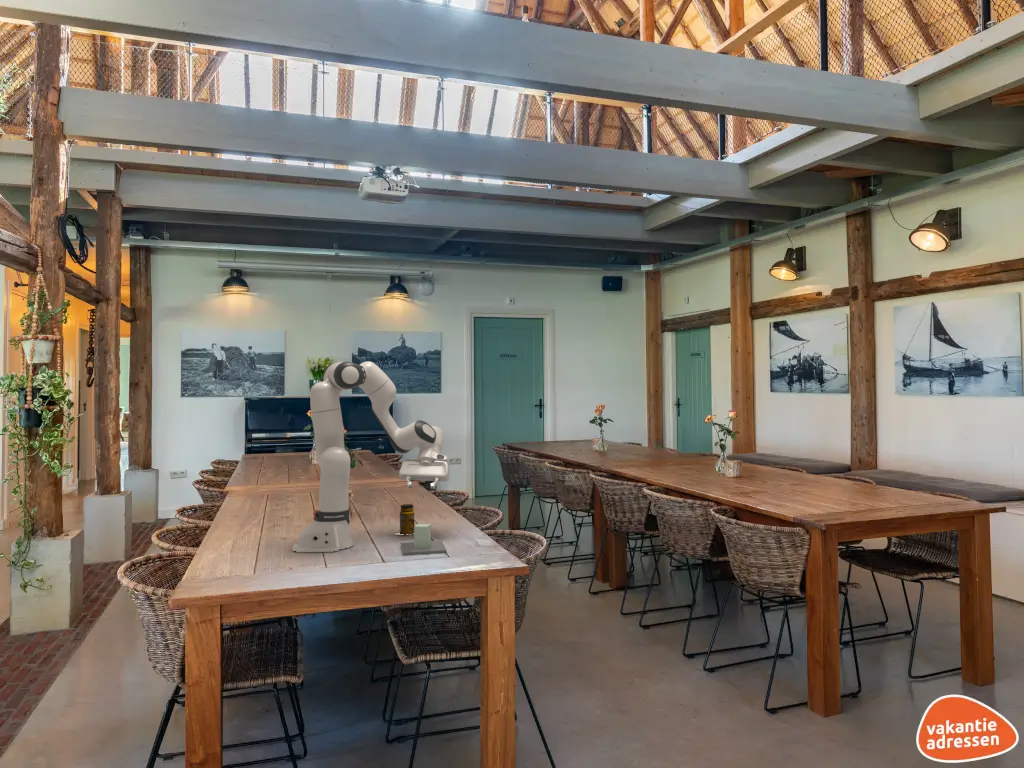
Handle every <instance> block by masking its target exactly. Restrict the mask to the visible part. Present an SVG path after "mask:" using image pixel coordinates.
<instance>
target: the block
mask: <svg viewBox="0 0 1024 768" xmlns="http://www.w3.org/2000/svg"><path fill="white" fill-rule="evenodd" d="M414 526H415V527H414V535H413V536H414V538H413V540H414V541H413V542H415V548H428V547H429V546H431V541H432V526H431V523H417V524H415V525H414Z"/></svg>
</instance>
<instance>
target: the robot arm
mask: <svg viewBox="0 0 1024 768" xmlns="http://www.w3.org/2000/svg"><path fill="white" fill-rule="evenodd" d="M356 387H359V388H360V389H361V390H362V391H363V392H364V394H366V396H367V397H368V398H369V400H370V401H371V405H370V406H371V411H372V413H373V415H374V418H376V420H377V422H378V423H379V425H380V426H381V428H382V430H383V431H384V432H385V434H386V436H387V437H388V440H389V441H390V444H391V446H392V448H393V449H394V450H395V451H396V452H398V453H400V454H406V453H409V452H410V451H412V450H414V449H415V448H417V447H418V449H419V451H418V456H417V458H416V459H409V458H407V459H405V460H403V461H402V463H401V467H400V469H399V473H398V475H399V479H401V480H404V481H405V480H406V481H407V486H406V487H407V488H409V489H411V488H412V487H413V482H412V481H422V482H423V481H425V482H427V481H428V482H429V481H430V482H432V483H430V489H431V490H435V488H436V486H437V485H438V484H439V483H440V482H448V481H449V480H450V475H451V473H450V461H449V458H448V456H447V455H444V454H441V452H442V449H443V446H444V441H445V439H444V438H445V436H444V432H443V430H442V429H441V428H440V427H439V426H435V425H430V424H429V423H427V422H426V421H424V420H420V419H418V420H416V421H414V422H411V423H410V424H409V425H406V426H404V427H402V428H401V427H399V426H398V425H397V423H396V422H395V420H394V418H393V416H392V415H391V414H390V411H389V410H390V407H391V405H392V403H394V401H395V399H396V396H397V387H396V385H395V384H394V382H393V381H392V380H391V378H390V377H389V376H388V375H387V374H386V373H385V372H384V371H383V370H382V369H381V368H380V367H379V366H378V365H376V364H375V362H373V361H369V360H368V361H364V362H361V363H360V364H357V363H355V362H353V361H336V362H333V363H331V364H329V365H328V366H327V367H325V369H324V372H323V375H322V377H321V380H320V381H319V382H316V383H315V384H313V385H312V386H311V388H310V393H309V394H310V397H309V399H310V401H309V403H310V404H309V405H310V412H311V420H312V425H313V426H312V427H313V432H314V444H315V447H314V448H315V455H316V463H317V466H319V468H320V474H319V487H318V508H319V509H315V510H313V512H312V515H313V521H311V522H310V523H309V524H308V525H307V526H305V528H303V529H302V530H301V531H300V533H299V536H298V541H297V542H296V543H294V544H293V546H292V551H293V552H294V551H296V552H295V553H334V551H335V552H338V551H341V550H345V548H346V549H348V548H351V547H353V546H354V542H353V539H352V533H351V527H350V523H351V512H350V511H351V510H350V508H349V501H350V500H349V487H350V477H351V476H350V475H351V456H350V454H349V452H348V450H347V449H346V448H345V439H344V436H345V435H344V423H343V421H344V420H343V415H342V409H341V407H342V406H341V404H340V403H341V402H340V395H341V393H342V391H345V390H352V389H355V388H356ZM340 549H341V550H340Z"/></svg>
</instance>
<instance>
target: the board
mask: <svg viewBox="0 0 1024 768" xmlns="http://www.w3.org/2000/svg"><path fill="white" fill-rule="evenodd" d="M400 545H401V546H400V549H401V553H402V554H403V555H405V556H416V555H415V554H421V555H432V554H431V553H437V554H447V553H448V552H447V548H446V547H445V544H444V542H443V541H442V540H431V546H429V547H428V548H415V541H412V542H400ZM403 555H402V556H403Z"/></svg>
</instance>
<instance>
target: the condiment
mask: <svg viewBox="0 0 1024 768" xmlns="http://www.w3.org/2000/svg"><path fill="white" fill-rule="evenodd" d="M415 526H416V525H415V510H414V505H413V504H412V503H411V504H410V503H406V504H405V503H403V504H401V505H400V511H399V531H398V532H400V534H404V535H406V534H413V533H414V527H415ZM398 532H397V533H398ZM393 533H396V532H393ZM406 536H407V535H406Z"/></svg>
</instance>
